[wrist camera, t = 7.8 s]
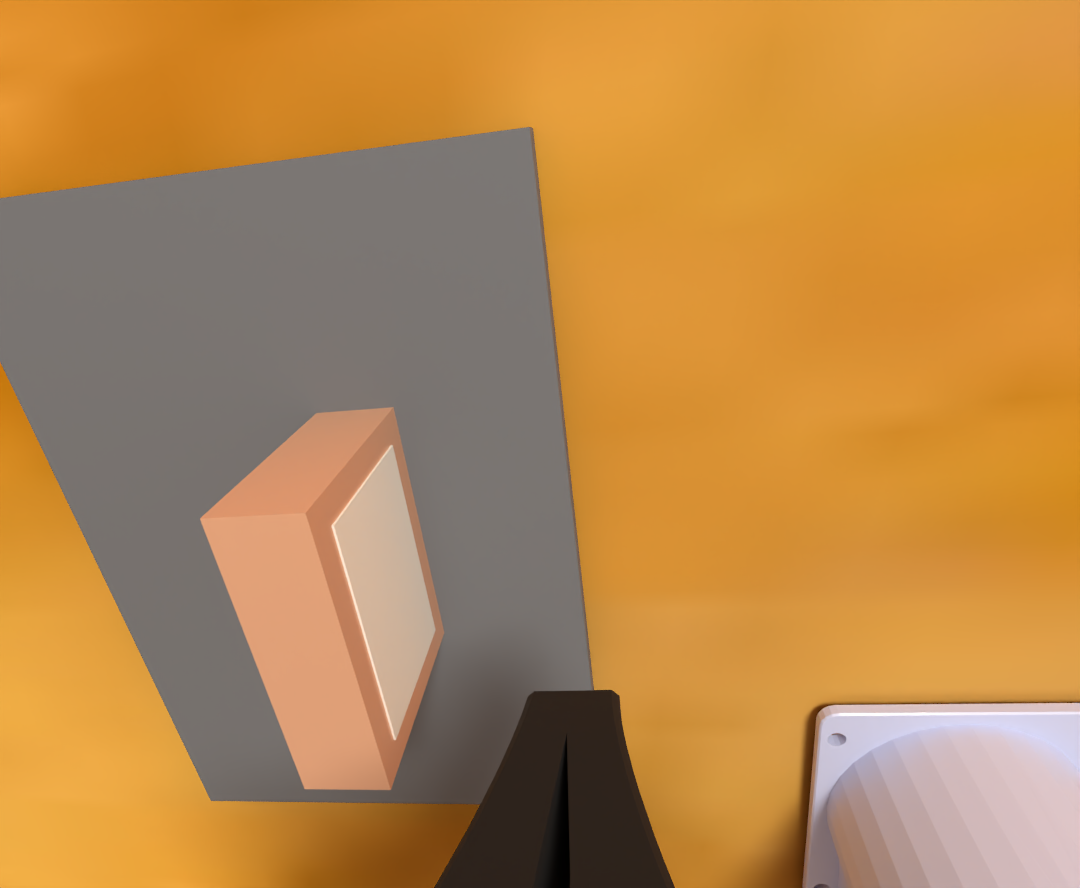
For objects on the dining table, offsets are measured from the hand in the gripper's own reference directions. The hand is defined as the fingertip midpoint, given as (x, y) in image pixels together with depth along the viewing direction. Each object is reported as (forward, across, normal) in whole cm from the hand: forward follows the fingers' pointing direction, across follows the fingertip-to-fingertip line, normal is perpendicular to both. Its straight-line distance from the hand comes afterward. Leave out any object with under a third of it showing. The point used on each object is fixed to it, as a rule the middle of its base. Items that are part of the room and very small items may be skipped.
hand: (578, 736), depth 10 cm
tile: (+7, +6, 0) cm, 9 cm away
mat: (+8, +7, +1) cm, 11 cm away
